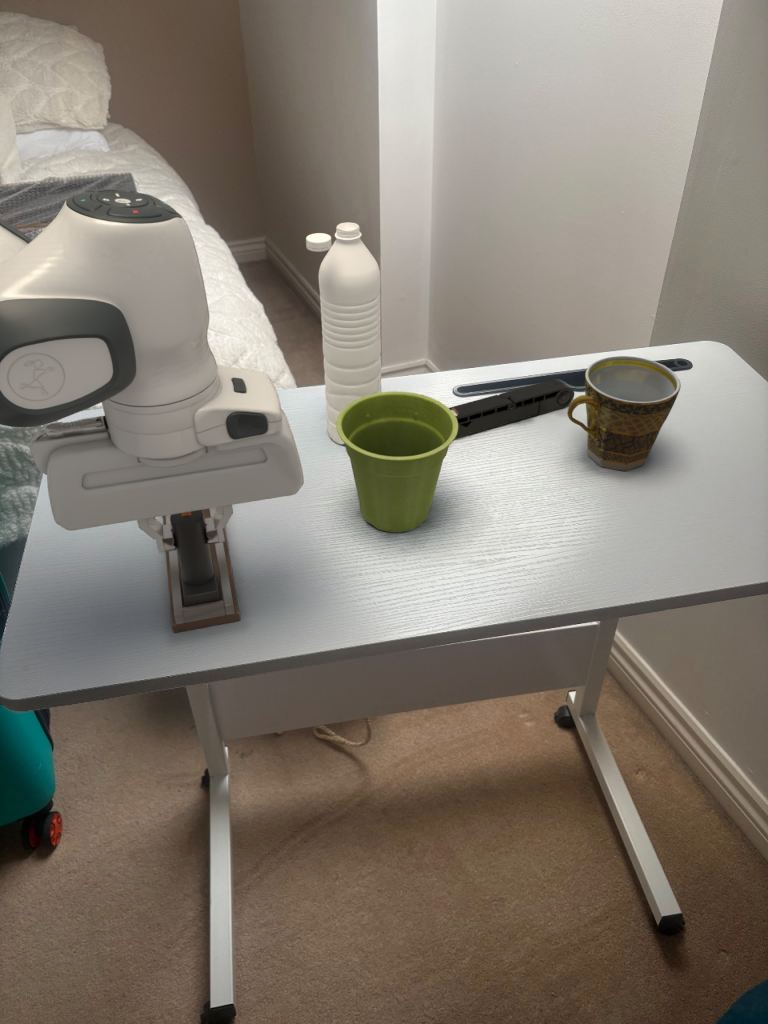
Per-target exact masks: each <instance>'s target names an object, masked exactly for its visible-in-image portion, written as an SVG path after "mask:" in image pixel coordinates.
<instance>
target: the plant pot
mask: <svg viewBox="0 0 768 1024" xmlns="http://www.w3.org/2000/svg"><path fill="white" fill-rule="evenodd" d="M449 408H450V407H449V406H448V405H446V404H444V403H443V402H441V401H440V400H437V399H435V398H434V397H431V396H428V395H425V394H419V393H417V392H410V391H398V390H397V391H395V390H394V391H381V392H380V393H375V394H371V395H367V396H364V397H361V398H359V399H357V400H355V401H353V402H351V403H350V404H348V405H347V406H346V407H345V408H344V409H343V410H342V411H341V412H340V414H339V416H338V418H337V422H336V428H337V432H338V435H339V437H340V438H341V440H342V441H343V442H344V443H345V444H344V447H345V451H346V453H347V455H348V457H349V461H350V465H351V470H352V474H353V480H354V484H355V488H356V493H357V498H358V499H357V500H358V503H359V509H360V511H361V512H360V513H361V516H362V517H363V519H364V520H365V522H367V523H368V524H370V525H372V526H374V527H375V528H376V529H378V530H380V531H384V532H389V533H403V532H408V531H412V530H414V529H416V528H417V527H419V525H421V524H422V523H424V522H426V520H428V517H429V514H430V511H431V507H432V503H433V500H434V496H435V492H436V488H437V485H438V481H439V477H440V473H441V469H442V467H443V462H444V459H445V458H446V456H447V455H448V451H449V447H450V445H451V444H452V443H453V442H454V441H455V440H456V439H457V438H456V435H457V432H458V421H457V418H456V417H455V415H454V413H453V412H452V411H451V410H450V409H449Z"/></svg>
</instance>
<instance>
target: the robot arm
mask: <svg viewBox="0 0 768 1024" xmlns="http://www.w3.org/2000/svg"><path fill="white" fill-rule="evenodd" d="M203 277H204V276H203V273H202V268H201V264H200V260H199V255H198V251H197V248H196V245H195V241H194V238H193V236H192V232H191V229H190V227H189V226H188V223H187V222H186V220H185V218H184V217H183V216H182V215H181V214H180V213H179V212H178V211H177V210H176V209H174V208H173V207H172V206H171V205H169V204H168V203H166V202H165V201H163V200H161V199H159V198H158V197H156V196H154V195H152V194H148V193H142V192H137V191H135V190H130V189H118V188H100V189H90V190H86V191H84V192H80V193H76V194H73V195H72V196H69V197H68V198H67V199H66V200H65V201H64V204H63V205H62V208H61V209H60V211H59V213H58V214H57V215H56V216H55V217H54V219H53V220H52V221H51V222H50V223H49V224H48V225H47V226H46V227H45V228H44V229H43V230H42V231H41V232H40V233H39V234H38V235H36V237H34V238H33V239H32V238H30V237H29V236H28V235H26V234H25V233H24V232H23V231H21V230H19V229H18V228H17V227H15V226H13V225H11V224H10V223H8V222H6V221H5V220H3V219H1V218H0V426H4V427H11V428H33V427H40V426H44V425H45V426H44V428H43V429H42V430H39V431H38V432H36V433H35V434H34V435H33V436H32V437H31V438H30V441H29V451H30V454H31V458H32V460H33V463H34V465H35V466H36V468H37V470H38V471H40V472H41V473H42V474H44V475H46V482H47V492H48V498H49V499H48V500H49V505H50V510H51V513H52V516H53V521H54V523H55V524H56V525H58V526H60V527H61V528H62V529H64V530H66V531H69V532H70V531H79V530H85V529H91V528H97V527H104V526H110V525H115V524H122V523H128V522H129V523H130V522H135V521H136V522H137V525H138V528H139V529H140V530H141V531H143V533H145V534H146V535H147V536H149V537H150V538H151V539H153V540H155V543H156V545H157V551H158V553H159V554H160V553H161V554H162V553H166V552H168V551H173V550H176V544H175V540H174V535H173V531H172V527H171V524H168V525H164V524H162V523H161V522H160V521H159V520H158V519H157V518H160V517H163V516H166V515H172V514H178V513H185V512H191V511H197V510H203V509H209V508H216V512H215V514H214V516H213V517H211V518H205V519H204V521H205V529H206V535H207V540H208V544H214V543H221V542H225V539H224V533H223V528H225V529H226V526H227V524H228V522H229V521H230V519H231V517H232V515H233V514H234V510H233V509H234V508H233V506H234V505H239V504H245V503H253V502H259V501H265V500H271V499H278V498H283V497H289V496H290V497H291V496H294V495H297V494H298V492H299V491H300V490H301V488H302V487H303V486H304V484H305V478H304V472H303V467H302V462H301V458H300V455H299V451H298V447H297V443H296V440H295V437H294V434H293V431H292V428H291V426H290V425H291V424H290V423H289V419H288V416H287V415H286V413H285V410H284V409H282V405H281V400H280V397H279V393H278V391H277V389H276V386H275V384H274V382H273V380H272V378H271V377H270V375H269V374H267V373H266V372H264V371H259V370H254V369H246V368H241V367H240V368H239V367H233V366H228V365H222V364H217V360H216V358H215V357H216V356H215V355H214V353H213V351H212V349H211V347H210V344H209V339H208V333H209V332H208V331H209V326H210V310H209V303H208V297H207V292H206V287H205V281H204V278H203ZM100 403H101V405H102V410H103V413H104V415H99V416H92V417H86V418H82V419H81V418H80V419H78V420H77V419H76V420H73V421H65V422H63V421H60V420H62V419H65V418H67V417H70V416H72V415H75V414H78V413H80V412H83V411H85V410H88V409H89V408H92V407H94V406H97V405H99V404H100Z"/></svg>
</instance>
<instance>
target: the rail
mask: <svg viewBox="0 0 768 1024" xmlns="http://www.w3.org/2000/svg"><path fill="white" fill-rule="evenodd" d="M202 512H203V515H204V519H205V518H211V517H213V516H214V514H215V512H216V508H209V509H203V510H202ZM170 516H171V515H166V516H162V521H163V524H162V525H168V524H171V522H170ZM223 533H224V539H225V542H221V543H214V544H209V548H210V553H211V555H213V559H214V565H215V570H216V576H217V583H218V590H219V596H220V601H217V602H211V603H206V604H200V605H195V606H189V607H186V605H185V601H184V594H183V585H182V575H181V567H180V563H179V558H178V554H177V549H176V550H173V551H168V552H165V557H166V558H165V559H166V570H167V572H166V573H167V582H168V583H167V585H168V596H169V606H170V620H171V627H172V632H173V633H174V634H175V633H181V632H187V631H191V630H196V629H197V630H198V629H201V628H207V627H212V626H219V625H223V624H229V623H233V622H238V621H239V622H240V621H241V615H240V610H239V605H238V598H237V592H236V587H235V582H234V581H235V579H234V575H233V569H232V561H231V558H230V551H229V550H230V549H229V545H228V540H227V534H226V527H225V528H223Z"/></svg>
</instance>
